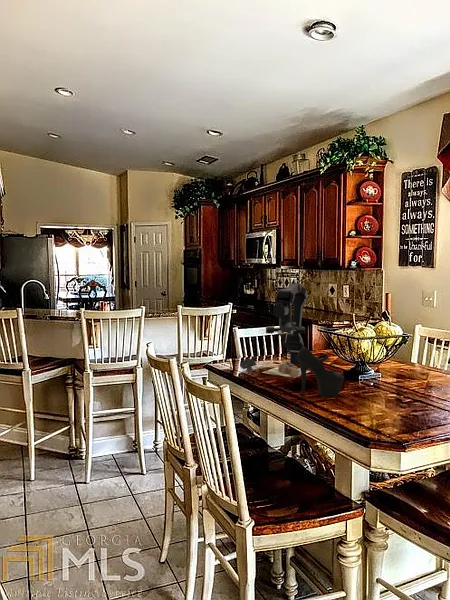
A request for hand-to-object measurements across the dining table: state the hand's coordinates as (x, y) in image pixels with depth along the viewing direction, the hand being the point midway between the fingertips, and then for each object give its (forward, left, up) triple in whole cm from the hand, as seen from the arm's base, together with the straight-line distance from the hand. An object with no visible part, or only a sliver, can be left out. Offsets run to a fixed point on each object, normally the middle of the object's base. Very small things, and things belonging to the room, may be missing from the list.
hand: (285, 347), depth 244 cm
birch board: (+4, +3, -12) cm, 13 cm away
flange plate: (+6, +6, -11) cm, 14 cm away
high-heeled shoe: (+28, +32, -12) cm, 44 cm away
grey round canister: (+4, +3, -12) cm, 13 cm away
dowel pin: (+6, +11, -11) cm, 17 cm away
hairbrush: (+5, -18, -13) cm, 22 cm away
